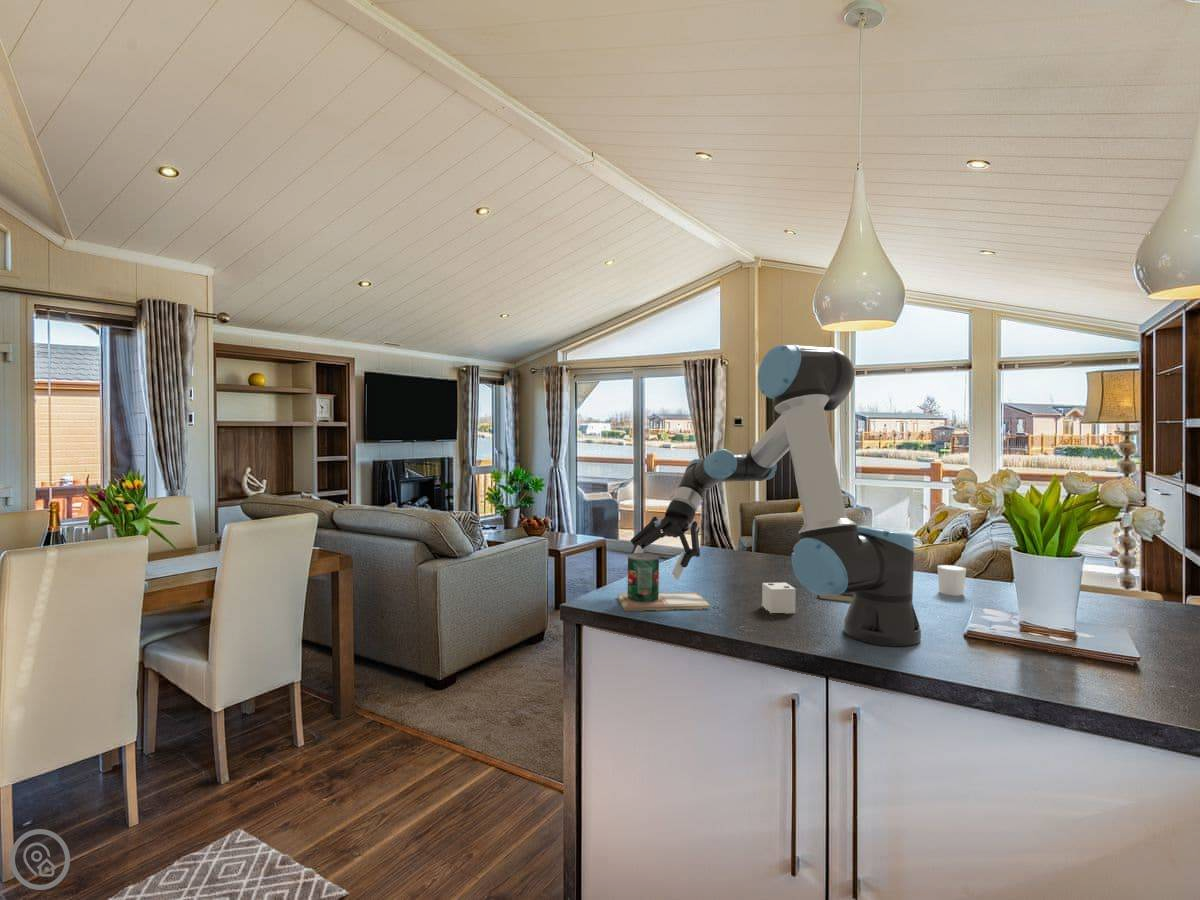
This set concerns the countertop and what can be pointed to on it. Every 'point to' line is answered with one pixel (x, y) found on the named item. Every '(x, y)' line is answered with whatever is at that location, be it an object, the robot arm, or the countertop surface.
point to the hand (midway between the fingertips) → (652, 572)
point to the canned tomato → (643, 578)
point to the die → (778, 597)
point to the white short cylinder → (951, 579)
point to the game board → (667, 602)
